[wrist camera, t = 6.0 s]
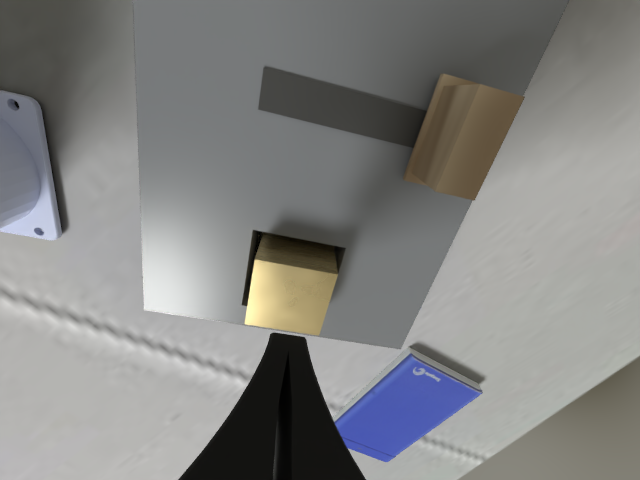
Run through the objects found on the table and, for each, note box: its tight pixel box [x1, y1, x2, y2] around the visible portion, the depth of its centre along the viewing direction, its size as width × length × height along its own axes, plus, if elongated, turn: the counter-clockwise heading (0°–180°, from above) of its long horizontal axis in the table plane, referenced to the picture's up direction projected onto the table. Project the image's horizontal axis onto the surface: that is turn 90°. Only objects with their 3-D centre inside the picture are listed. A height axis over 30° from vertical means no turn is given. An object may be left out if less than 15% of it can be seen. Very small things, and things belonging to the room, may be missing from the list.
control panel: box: [133, 0, 569, 349], centre depth 14 cm, size 16×26×3 cm, turn 167°
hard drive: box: [332, 347, 483, 462], centre depth 27 cm, size 2×8×12 cm
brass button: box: [245, 232, 338, 336], centre depth 16 cm, size 4×4×3 cm
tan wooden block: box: [403, 74, 524, 200], centre depth 12 cm, size 2×4×3 cm, turn 167°
